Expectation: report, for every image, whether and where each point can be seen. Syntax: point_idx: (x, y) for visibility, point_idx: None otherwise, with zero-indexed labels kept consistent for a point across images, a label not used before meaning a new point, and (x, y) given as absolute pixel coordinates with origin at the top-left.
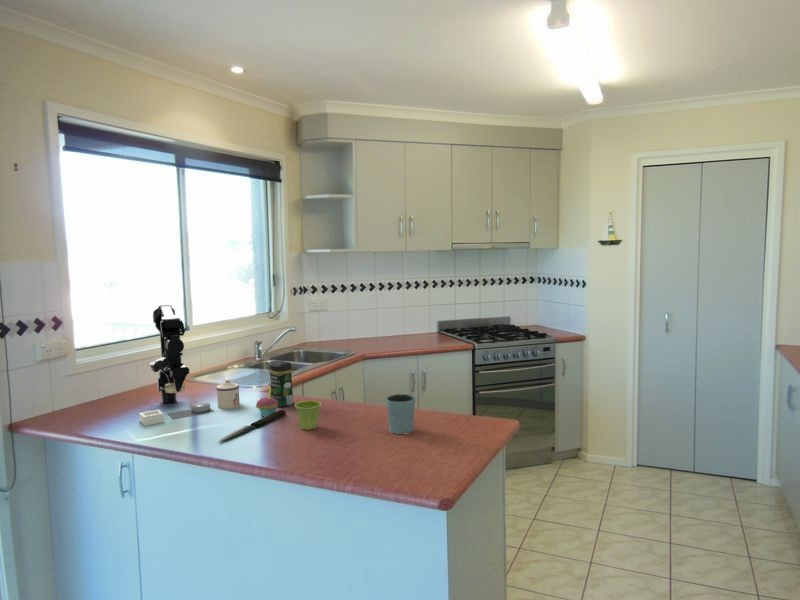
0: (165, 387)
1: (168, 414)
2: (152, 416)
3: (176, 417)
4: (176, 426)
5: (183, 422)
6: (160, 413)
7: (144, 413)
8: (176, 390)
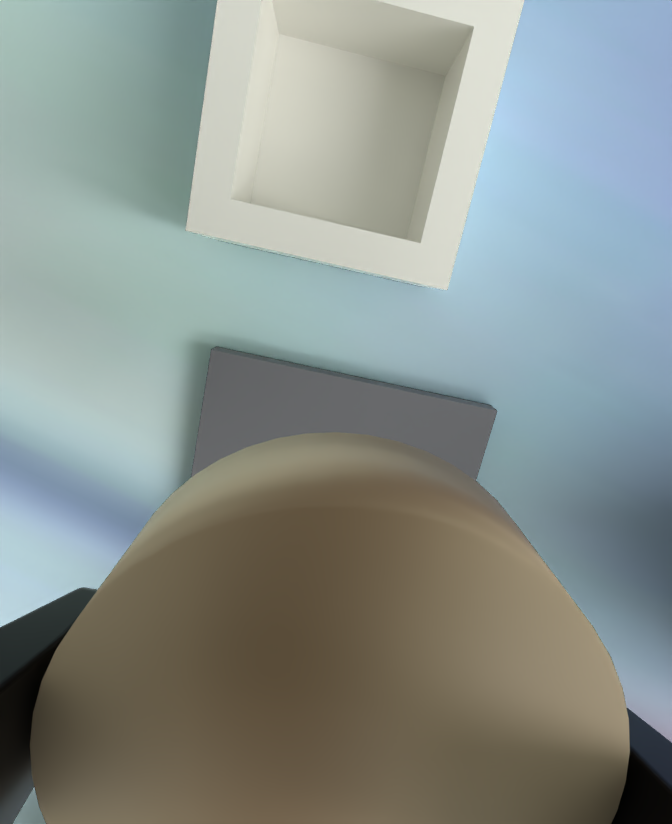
0: (389, 487)
1: (446, 411)
2: (210, 63)
3: (258, 408)
4: (16, 278)
5: (104, 396)
6: (219, 198)
7: (462, 59)
8: (77, 598)
